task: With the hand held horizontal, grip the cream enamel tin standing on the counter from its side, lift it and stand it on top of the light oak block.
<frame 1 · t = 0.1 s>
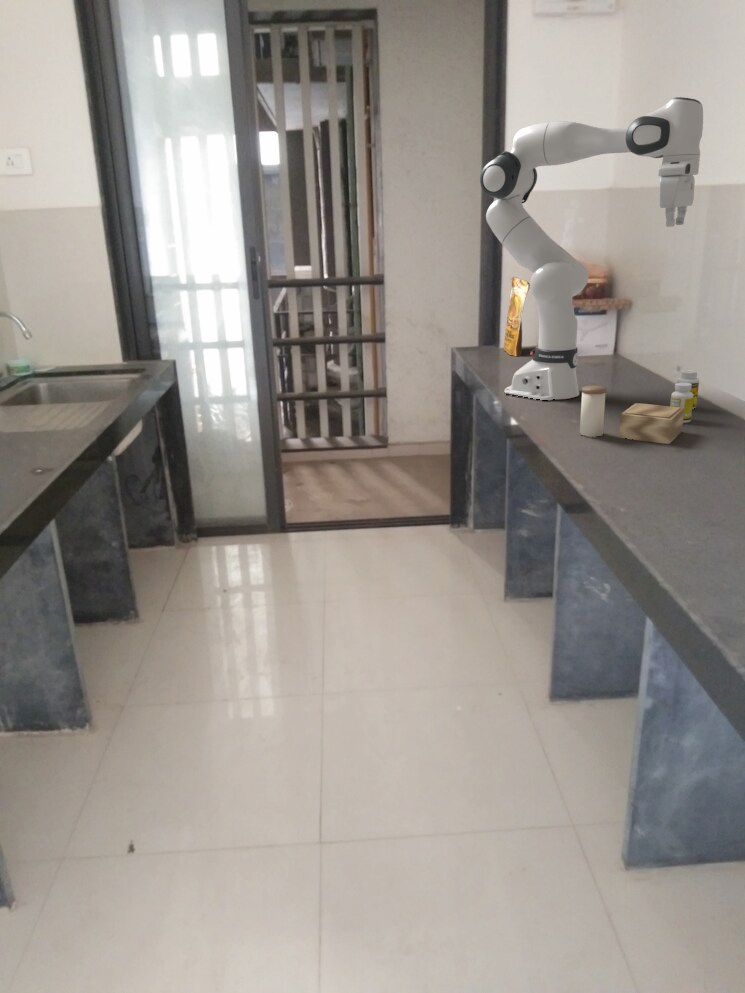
hand: (674, 225, 202), 48 cm above the worktop, tool pointing down, fingers open, 8 cm apart
pancake mix bag: (514, 353, 301), on the worktop
oak block: (650, 434, 192), on the worktop
supplement bottle: (685, 408, 215), on the worktop
supplement bottle 2: (679, 421, 203), on the worktop
cream tin: (591, 434, 195), on the worktop
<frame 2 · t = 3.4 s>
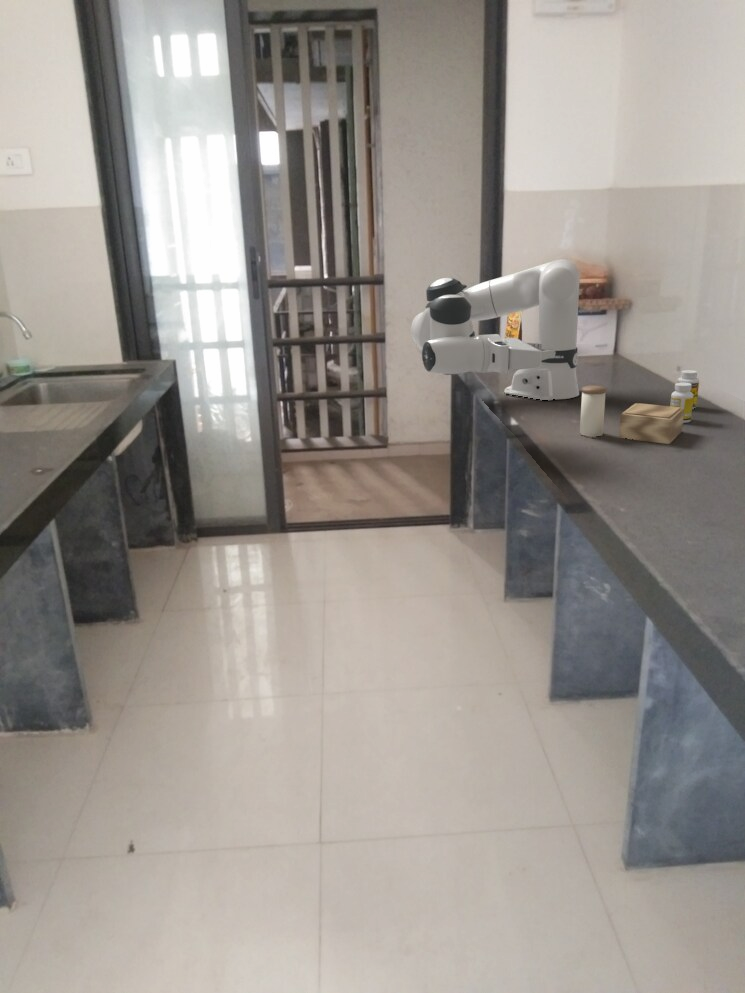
hand: (547, 350, 186), 22 cm above the worktop, tool horizontal, fingers open, 8 cm apart
nothing on the worktop moved.
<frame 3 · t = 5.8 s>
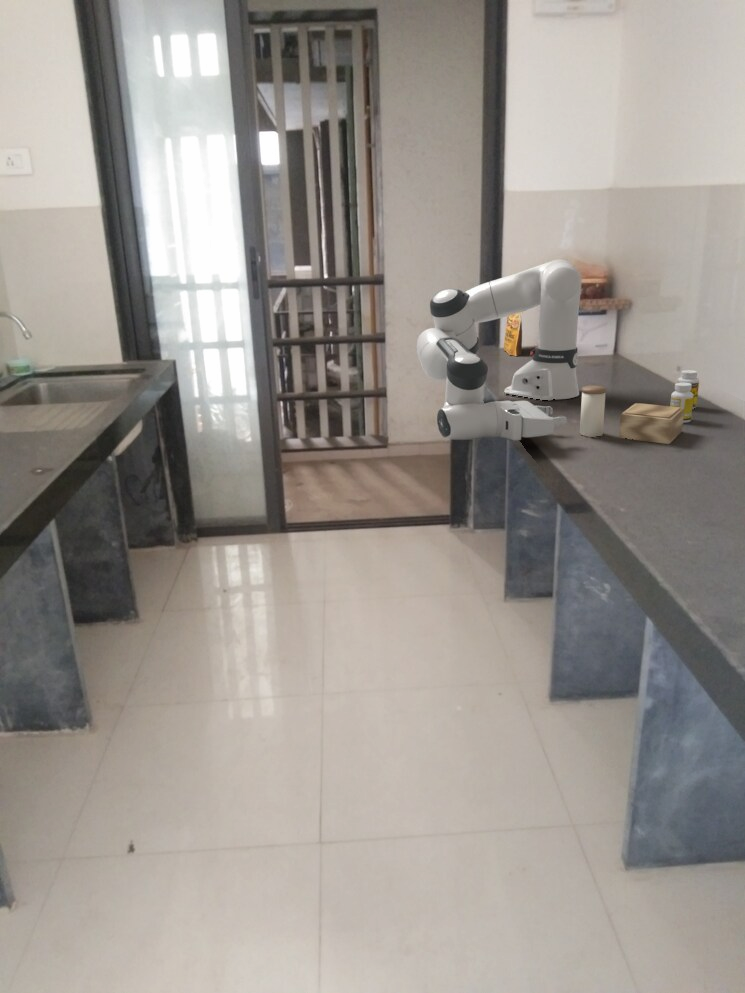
hand: (558, 414, 191), 6 cm above the worktop, tool horizontal, fingers open, 8 cm apart
nothing on the worktop moved.
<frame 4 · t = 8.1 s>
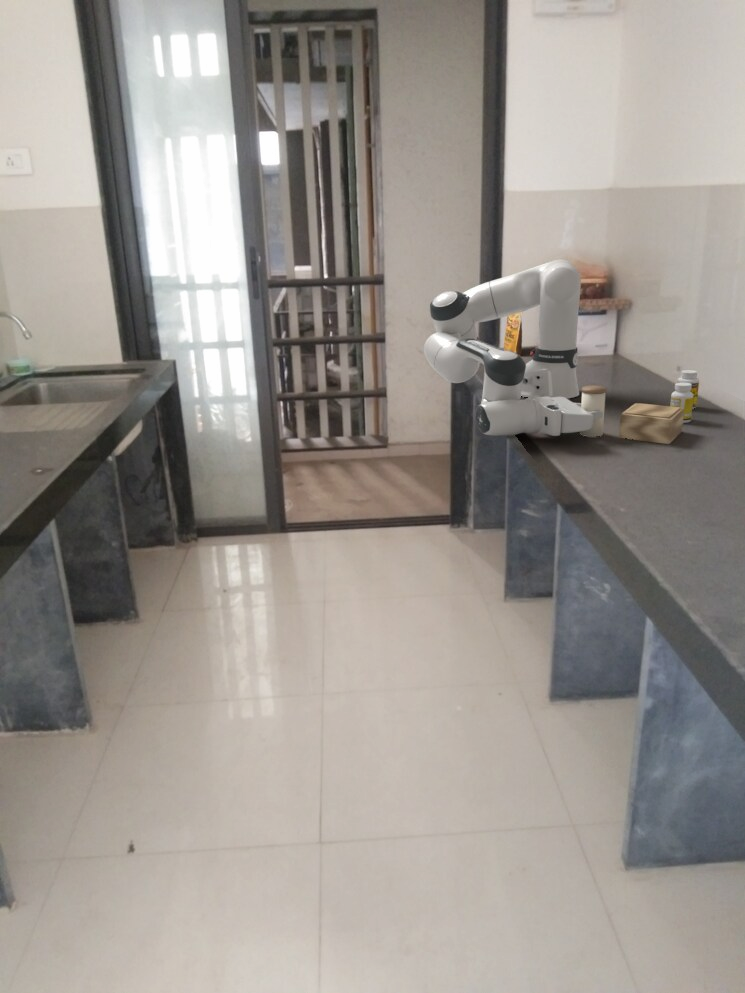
hand: (596, 410, 193), 6 cm above the worktop, tool horizontal, fingers closed on cream tin, 6 cm apart
cream tin: (591, 434, 195), on the worktop, touching gripper
everything else where it was.
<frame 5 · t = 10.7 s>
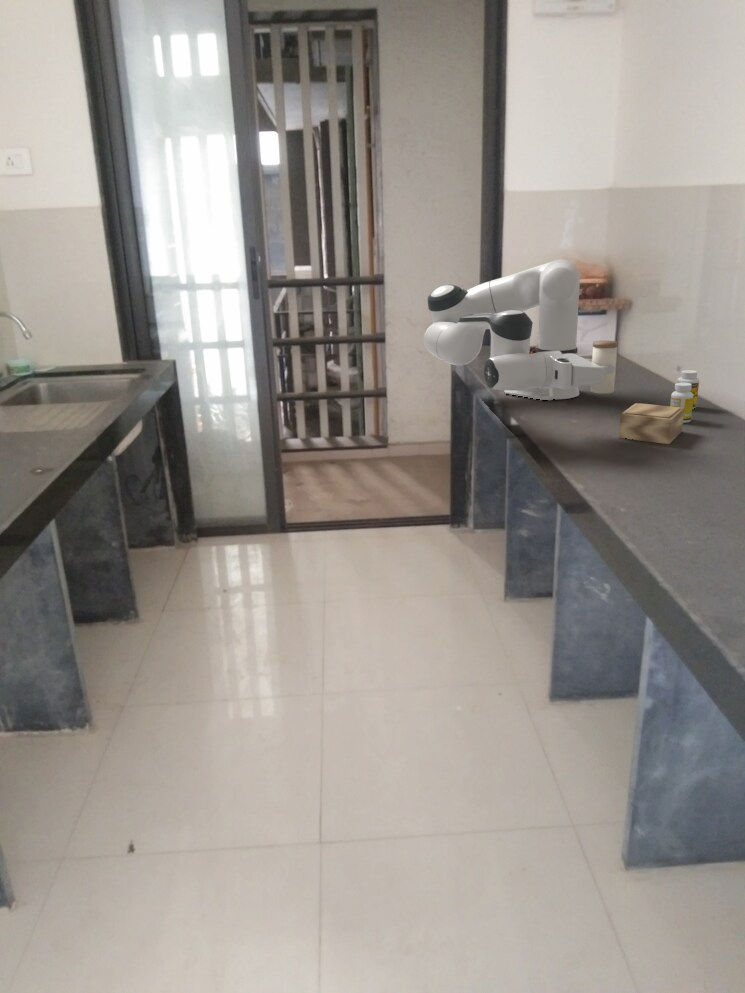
hand: (607, 366, 188), 17 cm above the worktop, tool horizontal, fingers closed on cream tin, 6 cm apart
cream tin: (602, 390, 190), point 11 cm above the worktop, touching gripper
everything else where it was.
when the fingers open (13 cm above the worktop, at t = 13.2 s): cream tin drops 1 cm, resting on oak block.
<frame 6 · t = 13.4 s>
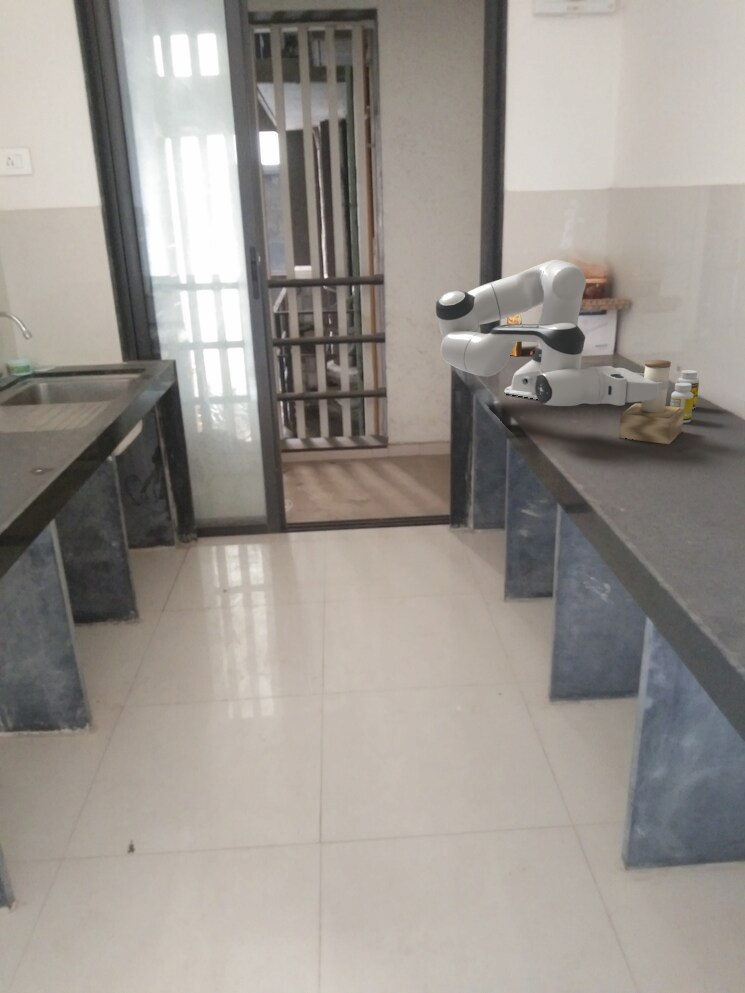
hand: (658, 381, 188), 13 cm above the worktop, tool horizontal, fingers open, 7 cm apart
cream tin: (652, 409, 190), point 6 cm above the worktop, touching oak block
everything else where it was.
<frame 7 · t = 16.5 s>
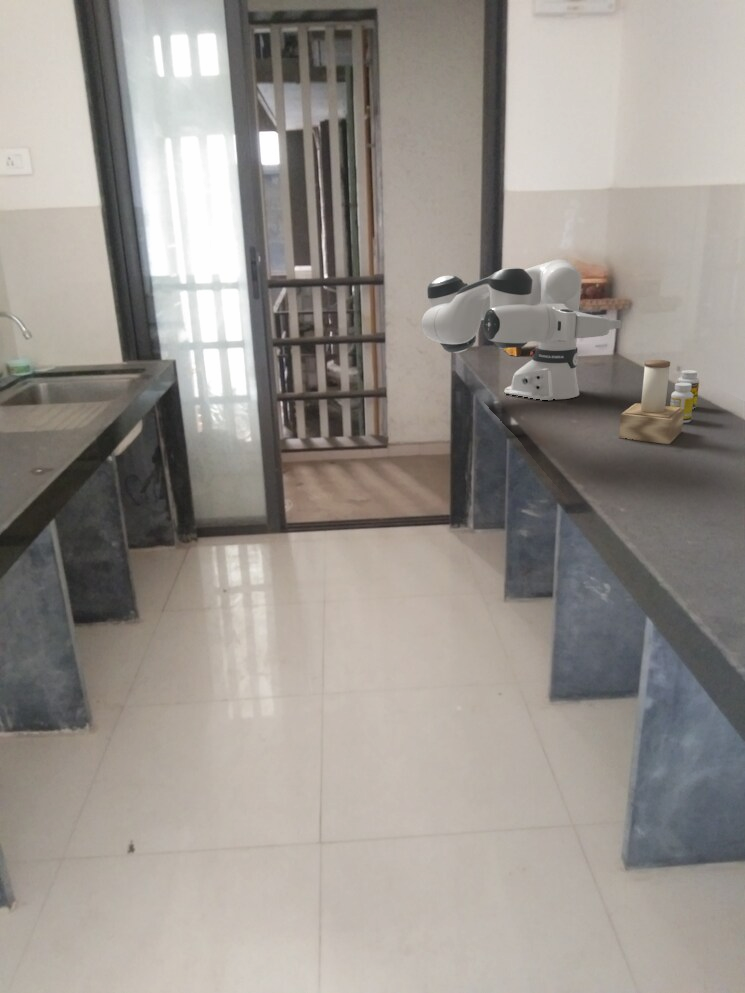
hand: (611, 322, 181), 28 cm above the worktop, tool horizontal, fingers open, 8 cm apart
nothing on the worktop moved.
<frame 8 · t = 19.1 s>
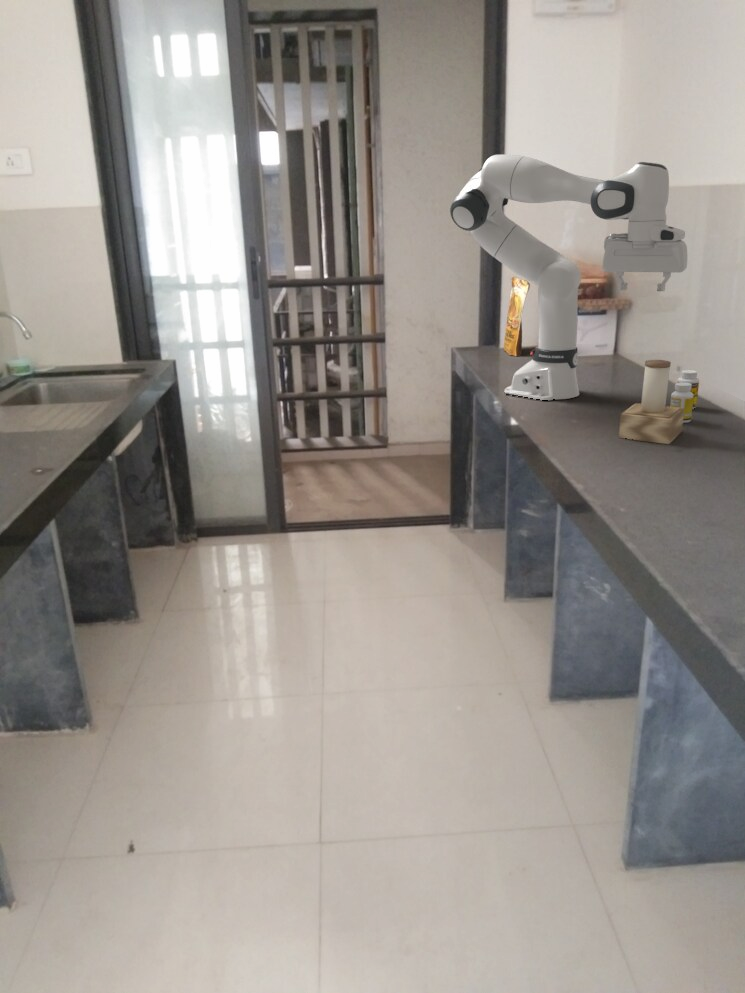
hand: (641, 290, 196), 33 cm above the worktop, tool pointing down, fingers open, 8 cm apart
nothing on the worktop moved.
at the end: cream tin inside the target area on the oak block (0.1 cm from its centre), point 6.3 cm above the oak block's base; cream tin tilted 1°; the gripper is holding nothing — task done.
